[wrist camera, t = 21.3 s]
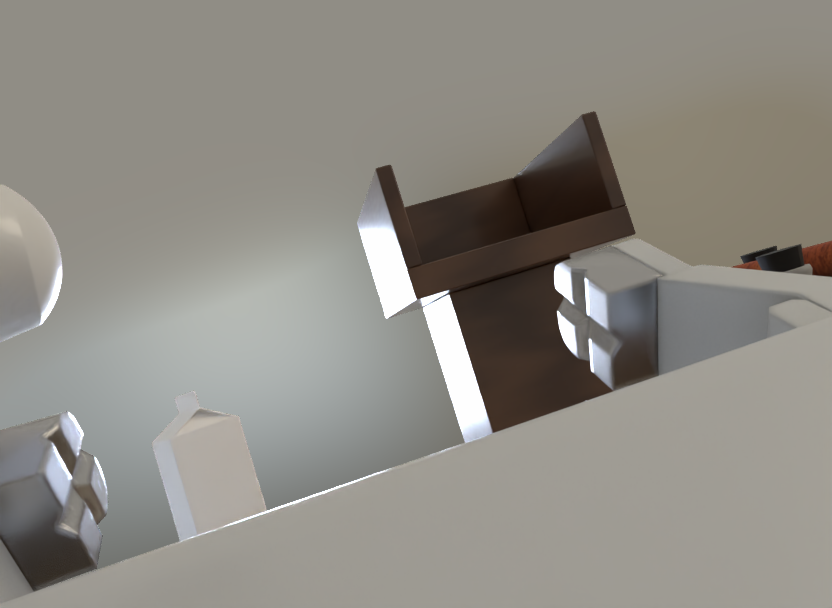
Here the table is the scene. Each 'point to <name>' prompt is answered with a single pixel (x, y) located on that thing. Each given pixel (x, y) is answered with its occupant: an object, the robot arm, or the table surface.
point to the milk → (206, 469)
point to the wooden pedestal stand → (500, 275)
